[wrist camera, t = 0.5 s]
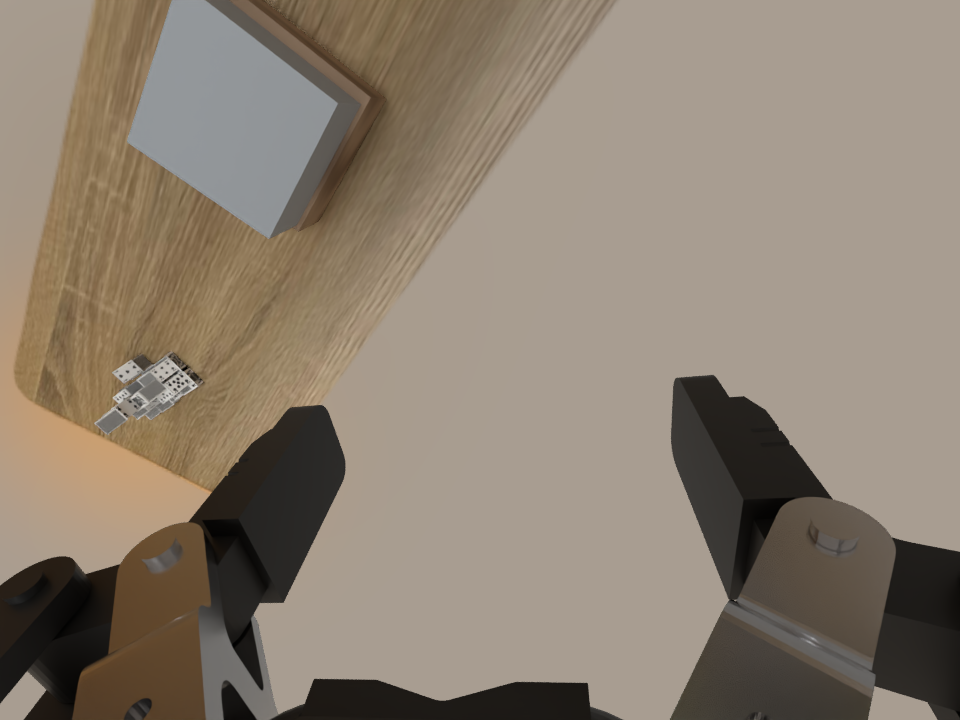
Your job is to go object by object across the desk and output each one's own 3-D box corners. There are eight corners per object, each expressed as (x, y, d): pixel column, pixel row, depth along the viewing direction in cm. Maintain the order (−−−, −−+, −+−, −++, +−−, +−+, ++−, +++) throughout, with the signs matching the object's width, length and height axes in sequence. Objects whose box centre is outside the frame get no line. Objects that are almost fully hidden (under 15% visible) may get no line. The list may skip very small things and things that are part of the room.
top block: (224, -4, 27) (178, -21, 23) (361, 104, 29) (338, 103, 25) (172, 138, 31) (126, 141, 27) (296, 225, 32) (269, 238, 29)
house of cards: (144, 294, 40) (67, 331, 34) (220, 372, 43) (163, 420, 37) (84, 344, 43) (1, 387, 36) (158, 414, 46) (95, 465, 39)
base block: (253, -9, 30) (217, -25, 26) (388, 99, 32) (370, 97, 29) (198, 133, 34) (160, 135, 31) (320, 220, 36) (298, 231, 33)
